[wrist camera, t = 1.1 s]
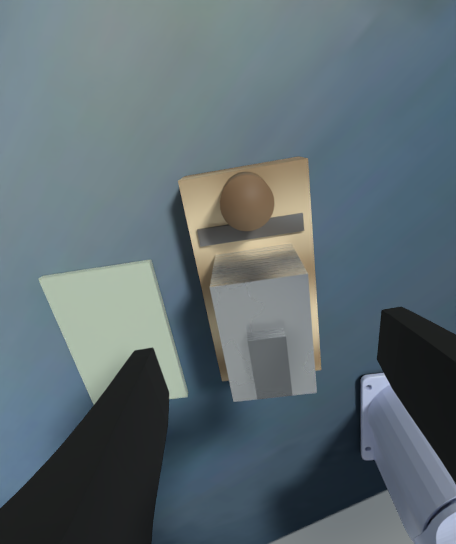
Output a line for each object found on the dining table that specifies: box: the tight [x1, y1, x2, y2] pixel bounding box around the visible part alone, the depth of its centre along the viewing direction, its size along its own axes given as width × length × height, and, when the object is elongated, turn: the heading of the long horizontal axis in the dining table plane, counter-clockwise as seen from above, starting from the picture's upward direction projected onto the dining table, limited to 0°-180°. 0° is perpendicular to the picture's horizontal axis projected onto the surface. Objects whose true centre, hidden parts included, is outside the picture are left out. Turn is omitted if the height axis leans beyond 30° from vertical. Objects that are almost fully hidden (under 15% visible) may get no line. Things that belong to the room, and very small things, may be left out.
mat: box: [39, 260, 188, 404], centre depth 24 cm, size 12×8×1 cm, turn 9°
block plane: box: [178, 157, 321, 381], centre depth 19 cm, size 14×7×5 cm, turn 9°
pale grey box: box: [210, 243, 317, 402], centre depth 17 cm, size 7×4×5 cm, turn 9°
